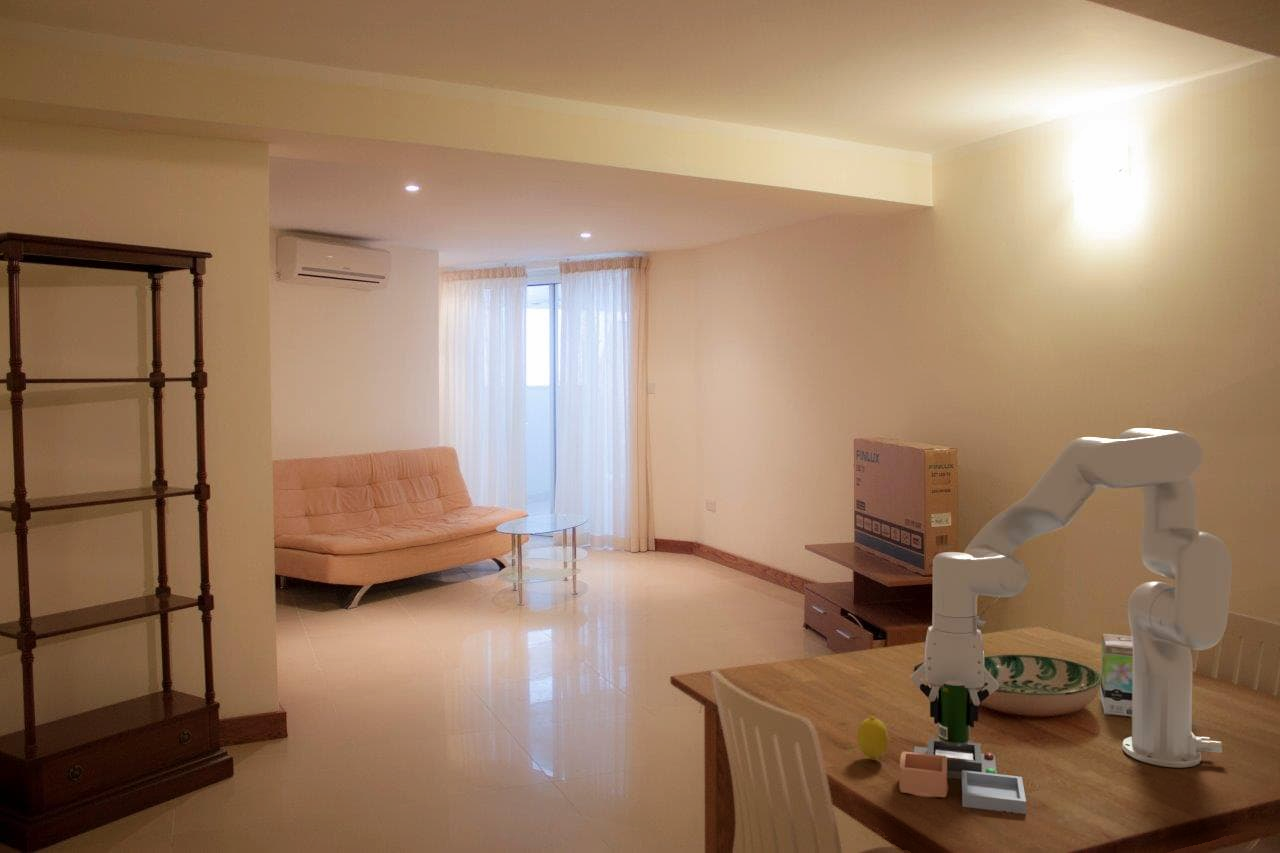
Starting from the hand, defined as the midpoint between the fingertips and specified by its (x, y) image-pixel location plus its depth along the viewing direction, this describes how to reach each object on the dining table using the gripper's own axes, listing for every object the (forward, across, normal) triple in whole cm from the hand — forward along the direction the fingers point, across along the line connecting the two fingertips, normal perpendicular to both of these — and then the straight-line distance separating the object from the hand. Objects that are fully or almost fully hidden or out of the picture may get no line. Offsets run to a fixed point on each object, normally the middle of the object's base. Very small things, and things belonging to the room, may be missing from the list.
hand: (953, 721), depth 167 cm
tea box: (+8, -37, -39) cm, 54 cm away
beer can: (+4, 0, 0) cm, 4 cm away
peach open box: (+8, +5, +10) cm, 14 cm away
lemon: (+8, +14, +1) cm, 16 cm away
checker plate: (+7, 0, 0) cm, 7 cm away
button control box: (+8, 0, 0) cm, 8 cm away
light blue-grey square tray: (+8, -6, +11) cm, 15 cm away
